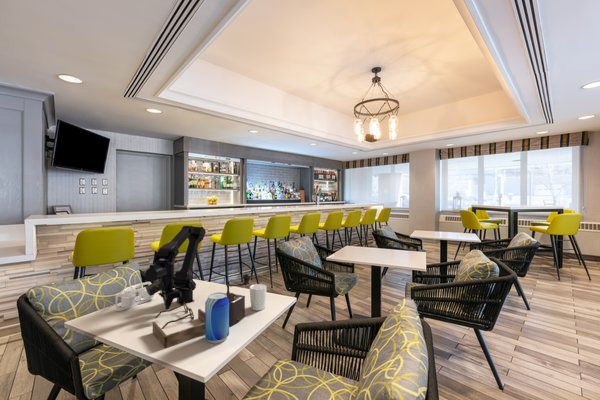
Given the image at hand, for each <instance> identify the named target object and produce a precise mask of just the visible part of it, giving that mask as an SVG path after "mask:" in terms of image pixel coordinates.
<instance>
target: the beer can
mask: <svg viewBox="0 0 600 400" xmlns="http://www.w3.org/2000/svg"><path fill="white" fill-rule="evenodd" d="M225 293H226V292H213V293H210V294H209V295H207V298H206V300H205V302H204V303H205V304H204V306H205V307H204V309H205V310H204V312H205V334H204V336H205V337H204V338H205V339H206V340H207V342H208V343H210V344H220V343H224V341H227V339H228V337H229V336H230V327H229V299H228V298H227V296H226V294H225Z"/></svg>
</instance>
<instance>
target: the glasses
mask: <svg viewBox="0 0 600 400" xmlns="http://www.w3.org/2000/svg"><path fill="white" fill-rule="evenodd" d="M181 307H183V308H184V309H183V310H184V311H185V313H189V314H186V315H184V316H182V317H180V318H177V319H174V320H169V321H167V322H165V324H163V326H162V327H160V328H161V330H163V329H165V327H167V326H168V325H169V324H170V323H174V322H175V323H177V322H178V321H181V320H183V319H185V318H188V317H189V316H190V318H191V319H192V320H194V318H195V315H194V312H193V310H192V308H191V307H189V306H187V303H185V302H184V303H183V304H182V305H181V304H180V305H178V306H175V307H173V308H171V309H170V308H169V309H165V310H162V311H159V313H158V314H157V315H155V316H154V319H158V317H159V316H160V315H161V314H163V313H166V312H168V313H169V312H172V311H175V310H177V309H179V308H181Z"/></svg>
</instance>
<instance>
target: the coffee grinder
mask: <svg viewBox="0 0 600 400" xmlns="http://www.w3.org/2000/svg"><path fill="white" fill-rule="evenodd" d="M242 279H243V283H234V284H233V283H232V284H230V281H229V280H227V281H226V283H225V284H226V285H225V286H226V292H224V293H225V294H226V296H227V298H228V299H229V328H231V327H233V326H234V325H236V324H237V323H239V322H240V321H242V320H243V319H244V318H245V317H246V303H245V302H246V300H245V299H246V296H245V295H242V294H237V293H233V292H230V287H238V286H239V287H240V286H241V287H243V286H247V285H250V281H251V279H252V275H251V274H250V273H244V274H243V275H242Z"/></svg>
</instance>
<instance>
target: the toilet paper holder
mask: <svg viewBox="0 0 600 400" xmlns="http://www.w3.org/2000/svg"><path fill="white" fill-rule="evenodd" d="M150 284H152V282H151V281H146V282H141V283H140V282H139V283H137V284H132V285H130V286H128V287H125V289H123V290H122V291H120V292H118V293H115V295H114V297H115V309H114V310H115V312H121V311H124V310H129V309H131V308H133V307H135V306H139V305H141V304H144V303H146V302H149V301H150V300H152V299H154V298H155V297H157V293H155V294H154V295H152V296H150V295H149V294H148V293H147V290H146V287H147V286H149V285H150ZM145 285H147V286H145ZM137 287H140V288H138V289H136V288H137ZM136 293H138V296H137V295H136ZM118 298H120V305H119V302H118V301H119V300H118ZM141 298H143V300H141ZM137 299H138V301H137ZM118 305H119V306H118Z"/></svg>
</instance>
